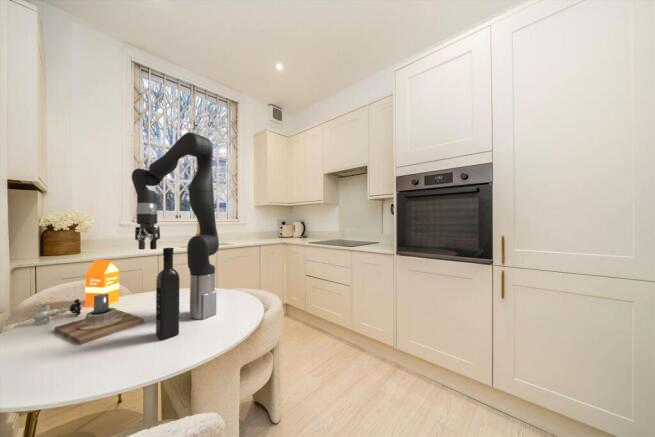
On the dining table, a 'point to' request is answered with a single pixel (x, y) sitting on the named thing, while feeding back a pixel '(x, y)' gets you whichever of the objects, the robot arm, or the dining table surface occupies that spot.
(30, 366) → the dining table surface
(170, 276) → the wine bottle
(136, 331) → the dining table surface
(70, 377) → the dining table surface
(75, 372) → the dining table surface
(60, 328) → the socket fitting
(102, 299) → the grey metal cylinder
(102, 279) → the orange juice
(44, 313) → the valve
